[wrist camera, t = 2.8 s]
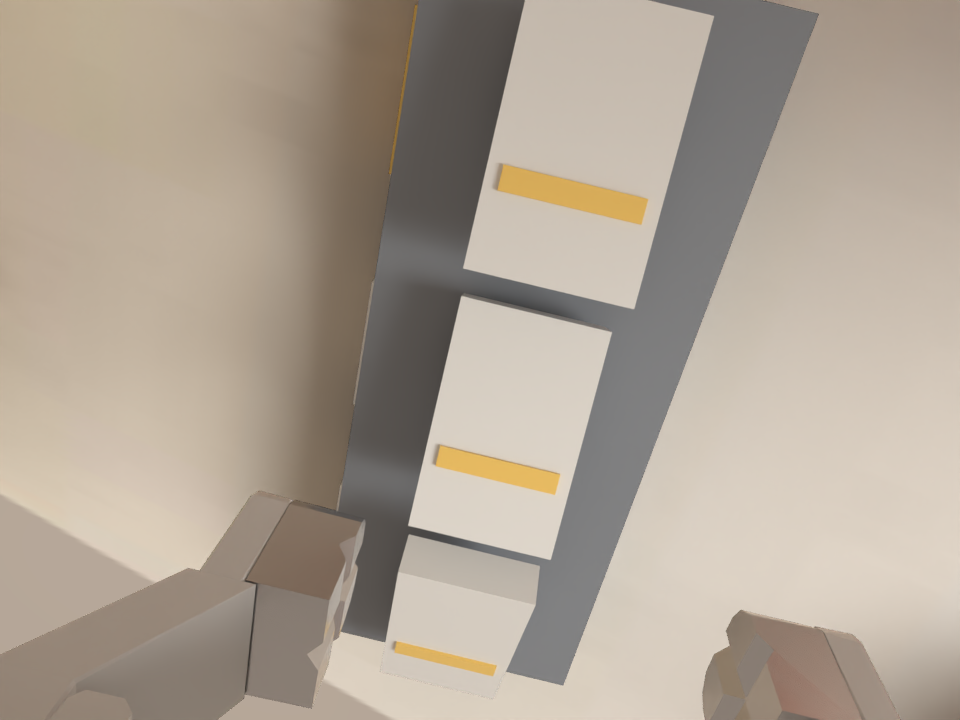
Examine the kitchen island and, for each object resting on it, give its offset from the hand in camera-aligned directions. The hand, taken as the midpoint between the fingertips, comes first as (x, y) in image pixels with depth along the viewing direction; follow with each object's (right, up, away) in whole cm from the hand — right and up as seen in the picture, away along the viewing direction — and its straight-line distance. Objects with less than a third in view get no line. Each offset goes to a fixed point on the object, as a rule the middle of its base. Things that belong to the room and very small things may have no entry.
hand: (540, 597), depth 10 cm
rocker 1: (+2, +10, +13) cm, 17 cm away
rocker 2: (0, +1, +17) cm, 17 cm away
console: (+1, +4, +24) cm, 24 cm away
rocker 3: (-2, -9, +22) cm, 24 cm away
